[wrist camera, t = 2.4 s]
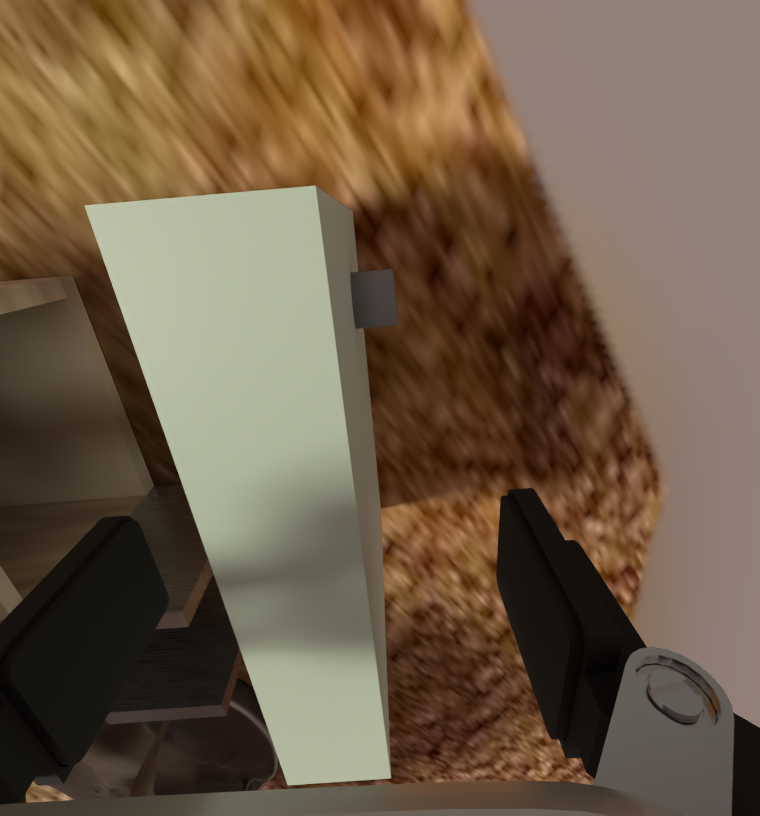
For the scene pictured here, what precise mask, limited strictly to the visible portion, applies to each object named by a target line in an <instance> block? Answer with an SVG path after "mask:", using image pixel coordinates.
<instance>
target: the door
mask: <svg viewBox="0 0 760 816" xmlns="http://www.w3.org/2000/svg"><path fill="white" fill-rule="evenodd" d="M85 209H86V211H87V214H88V217H89V220H90V223H91V226H92V229H93V231H94V234H95V237H96V240H97V243H98V246H99V249H100V251H101V254H102V257H103V260H104V263H105V266H106V269H107V271H108V274H109V277H110V280H111V283H112V286H113V288H114V291H115V294H116V297H117V300H118V303H119V306H120V308H121V311H122V314H123V317H124V320H125V323H126V326H127V328H128V331H129V334H130V337H131V340H132V343H133V345H134V348H135V351H136V354H137V357H138V360H139V363H140V365H141V368H142V371H143V374H144V377H145V380H146V383H147V385H148V388H149V391H150V394H151V397H152V400H153V402H154V405H155V408H156V411H157V414H158V417H159V420H160V422H161V425H162V428H163V431H164V434H165V437H166V440H167V442H168V445H169V448H170V451H171V454H172V457H173V460H174V462H175V465H176V468H177V471H178V474H179V477H180V479H181V482H182V485H183V488H184V491H185V494H186V497H187V499H188V502H189V505H190V508H191V511H192V514H193V517H194V519H195V522H196V525H197V528H198V531H199V534H200V536H201V539H202V542H203V545H204V548H205V551H206V554H207V556H208V559H209V562H210V565H211V568H212V571H213V574H214V576H215V579H216V582H217V585H218V588H219V591H220V594H221V596H222V599H223V602H224V605H225V608H226V611H227V613H228V616H229V619H230V622H231V625H232V628H233V631H234V633H235V636H236V639H237V642H238V645H239V648H240V651H241V653H242V656H243V659H244V662H245V665H246V668H247V670H248V673H249V676H250V679H251V682H252V685H253V688H254V690H255V693H256V696H257V699H258V702H259V705H260V708H261V710H262V713H263V716H264V719H265V722H266V725H267V727H268V730H269V733H270V736H271V739H272V742H273V745H274V747H275V750H276V753H277V756H278V759H279V762H280V765H281V767H282V770H283V773H284V776H285V779H286V782H287V785H301V784H315V783H330V782H345V781H359V780H374V779H389V778H391V763H390V737H389V710H388V684H387V658H386V631H385V605H384V578H383V552H382V525H381V505H380V494H379V483H378V473H377V462H376V452H375V441H374V431H373V420H372V410H371V399H370V389H369V378H368V368H367V357H366V346H365V336H364V328H373V327H386V326H397V309H396V292H395V281H394V272H393V269H384V270H372V271H360V272H358V262H357V252H356V241H355V230H354V220H353V212H352V211H351V210H350V209H348V208H347V207H345V206H344V205H342V204H341V203H340V202H338V201H337V200H335V199H334V198H332V197H331V196H330V195H328V194H327V193H325V192H324V191H322V190H321V189H320V188H318V187H317V186H306V187H294V188H283V189H271V190H260V191H248V192H236V193H225V194H213V195H201V196H190V197H178V198H166V199H155V200H143V201H131V202H120V203H108V204H96V205H85Z"/></svg>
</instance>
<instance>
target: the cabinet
mask: <svg viewBox="0 0 760 816" xmlns="http://www.w3.org/2000/svg"><path fill="white" fill-rule="evenodd" d="M153 486H154V484H153V482H152V479H151V477H150V474H149V471H148V469H147V466H146V464H145V461H144V459H143V456H142V453H141V451H140V448H139V446H138V443H137V441H136V438H135V435H134V433H133V430H132V428H131V425H130V423H129V420H128V417H127V415H126V412H125V410H124V407H123V404H122V402H121V399H120V397H119V394H118V392H117V389H116V386H115V384H114V381H113V379H112V376H111V374H110V371H109V368H108V366H107V363H106V361H105V358H104V356H103V353H102V350H101V348H100V345H99V343H98V340H97V338H96V335H95V332H94V330H93V327H92V325H91V322H90V320H89V317H88V314H87V312H86V309H85V307H84V304H83V302H82V299H81V296H80V294H79V291H78V289H77V286H76V283H75V281H74V278H73V276H60V277H48V278H36V279H24V280H12V281H0V623H1V622H2V621H3V620H4V619H5V618H6V617H7V616H8V615H9V614H10V613H11V612H12V611H13V610H14V608H15V607H16V606H17V605H18V604H19V603H20V602H21V601H22V600H23V599H24V598H25V597H26V596H27V595H28V594H29V593H30V592H31V591H32V590H33V589H34V588H35V587H36V586H37V585H38V584H39V583H40V582H41V580H42V579H43V578H44V577H45V576H46V575H47V574H48V573H49V572H50V571H51V570H52V569H53V568H54V567H55V566H56V565H57V564H58V563H59V562H60V561H61V560H62V559H63V558H64V557H65V556H66V555H67V553H68V552H69V551H70V550H71V549H72V548H73V547H74V546H75V545H76V544H77V543H78V542H79V541H80V540H81V539H82V538H83V537H84V536H85V535H86V534H87V533H88V532H89V531H90V530H91V529H92V528H93V527H94V525H95V524H96V523H97V522H98V521H99V520H101V519H102V518H104V517H112V516H130V514H131V513H132V512H133V511H134V510H135V508H136V507H137V506H138V505H139V503H140V502H141V501H142V500H143V499H144V497H145V496H146V495H147V494H148V493H149V491H150V490H151V489H152V488H153Z"/></svg>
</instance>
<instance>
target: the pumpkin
mask: <svg viewBox="0 0 760 816" xmlns="http://www.w3.org/2000/svg"><path fill="white" fill-rule="evenodd" d="M278 765H279V759H278V756H277V753H276V750H275V747H274V745H273V742H272V739H271V736H270V733H269V730H268V727H267V725H266V722H265V719H264V716H263V713H262V710H261V708H260V705H259V702H258V699H257V696H256V693H255V690H254V689H252V688H251V687H249V686H248V685H246V684H245V681H242V680H239V679H237V681H236V684H235V687H234V691H233V694H232V698H231V701H230V704H229V708H228V711H227V715H226V716H219V717H205V718H191V719H176V720H162V721H148V722H134V723H120V724H108V723H107V721H106V720H105V721H104V723H103V725H102V726H101V728H100V730H99V732H98V734H97V735H96V737H95V739H94V741H93V743H92V744H91V746H90V748H89V750H88V752H87V753H86V755H85V756H84V758H83V759H82V760H81V761H80V762H79V763H77V764H75V765H74V767H73V769H72V771H71V772H70V774H69V776H68V778H67V779H66V781H65V783H64V784H55V785H49V786H51V787H53V788H55V789H57V790H59V791H61V792H62V793H64V794H66V795H68V796H69V797H71V798H73V799H75V800H87V799H105V798H122V797H140V796H160V795H179V794H199V793H219V792H239V791H259V790H260V789H261V788H262V787H263V786H264V785H265V783H267V782H268V781H269V780H271V779H272V778H273V777H275V774H276V772H277V769H278Z"/></svg>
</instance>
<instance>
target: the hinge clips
mask: <svg viewBox="0 0 760 816" xmlns="http://www.w3.org/2000/svg"><path fill="white" fill-rule="evenodd" d="M130 517H132V518H133V520H134V521H137V522H138V523H139V524H140V526H141V529H142V531H143V534H144V536H145V539H146V541H147V543H148V546H149V548H150V551H151V553H152V556H153V558H154V561H155V563H156V566H157V568H158V570H159V573H160V575H161V578H162V580H163V583H164V585H165V588H166V590H167V592H168V596H169V603H168V607H167V610H166V612H165V613H164V615H163V617H162V619H161V621H160V622H159V624H158V626H157V628H156V630H155V631H154V633H153V635H152V637H151V639H150V640H149V642H148V644H147V646H146V647H145V649H144V651H143V653H142V655H141V656H140V658H139V660H138V662H137V664H136V665H135V667H134V669H133V671H132V673H131V674H130V676H129V678H128V680H127V682H126V683H125V685H124V687H123V689H122V691H121V692H120V694H119V696H118V698H117V700H116V701H115V703H114V705H113V707H112V708H111V710H110V712H109V714H108V716H107V717H106V719H105V720H106V721H107V723H108V724H120V723H134V722H148V721H162V720H176V719H191V718H205V717H219V716H226V715H227V711H228V708H229V704H230V701H231V698H232V694H233V691H234V687H235V684H236V681H237V677H238V674H239V670H240V667H241V663H242V660H243V656H242V653H241V651H240V648H239V645H238V642H237V639H236V636H235V633H234V631H233V628H232V625H231V622H230V619H229V616H228V613H227V611H226V608H225V605H224V602H223V599H222V596H221V594H220V591H219V588H218V585H217V582H216V579H215V576H214V574H213V571H212V568H211V565H210V562H209V559H208V556H207V554H206V551H205V548H204V545H203V542H202V539H201V536H200V534H199V531H198V528H197V525H196V522H195V519H194V517H193V514H192V511H191V508H190V505H189V502H188V499H187V497H186V494H185V491H184V488H183V485H182V484H171V485H158V486H153V488H152V489H151V490H150V491H149V493H148V494H147V495H146V496H145V497H144V499H143V500H142V501H141V502H140V503H139V505H138V506H137V507H136V508H135V510H134V511H133V512H132V513H131V514H130Z"/></svg>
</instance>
